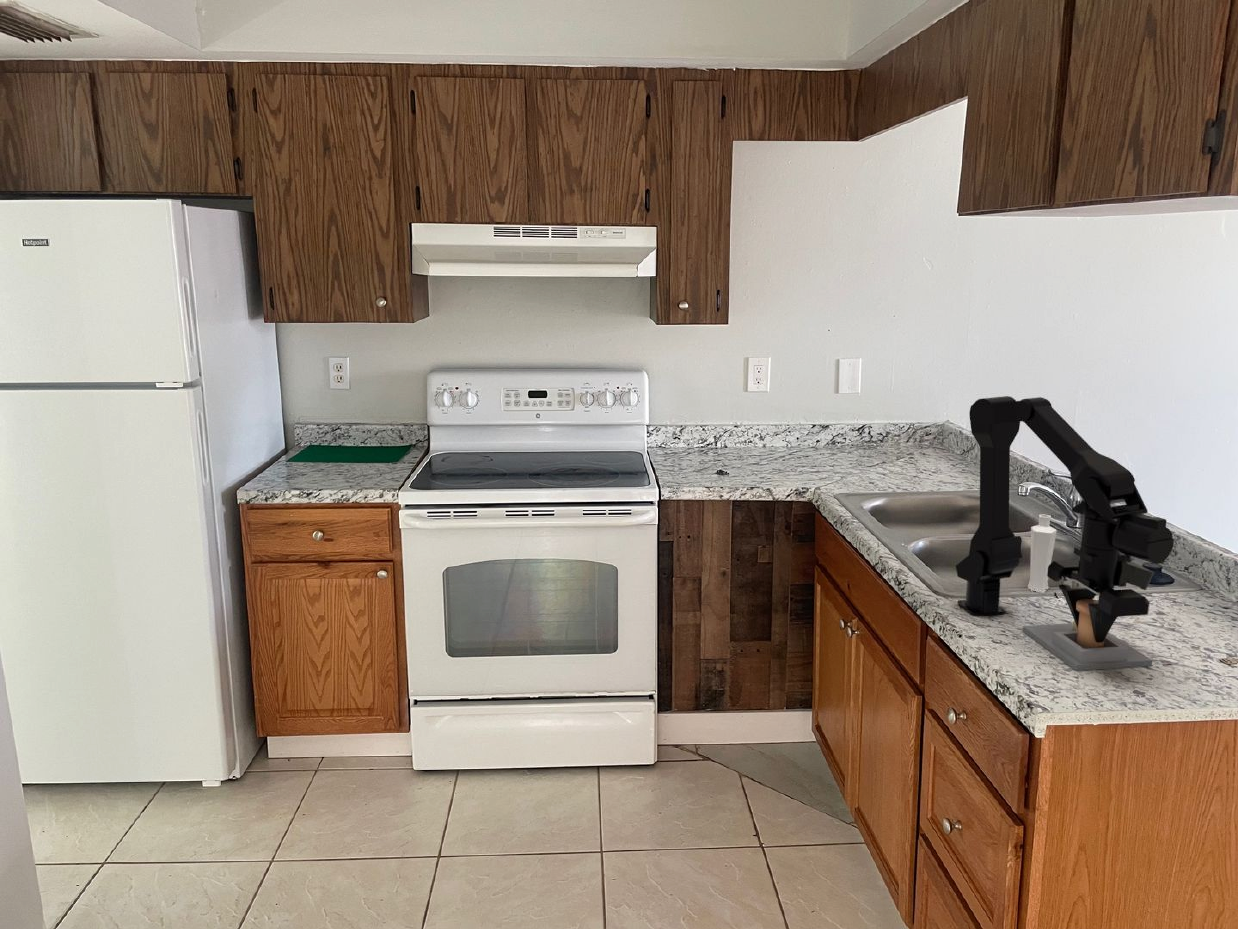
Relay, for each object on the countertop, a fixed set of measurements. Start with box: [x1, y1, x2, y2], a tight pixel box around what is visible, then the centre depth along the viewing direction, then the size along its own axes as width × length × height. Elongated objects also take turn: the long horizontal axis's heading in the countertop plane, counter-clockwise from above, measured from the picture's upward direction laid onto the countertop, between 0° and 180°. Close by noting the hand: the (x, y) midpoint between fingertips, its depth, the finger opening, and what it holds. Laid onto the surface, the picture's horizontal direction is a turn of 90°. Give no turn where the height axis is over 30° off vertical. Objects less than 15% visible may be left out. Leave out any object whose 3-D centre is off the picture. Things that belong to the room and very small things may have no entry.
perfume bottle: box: [1027, 514, 1057, 594], centre depth 186 cm, size 5×4×15 cm
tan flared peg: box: [1076, 598, 1104, 649], centre depth 156 cm, size 5×5×7 cm
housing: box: [1022, 620, 1153, 672], centre depth 160 cm, size 16×13×4 cm
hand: (1090, 636), depth 156 cm, fingers closed on tan flared peg, 4 cm apart
